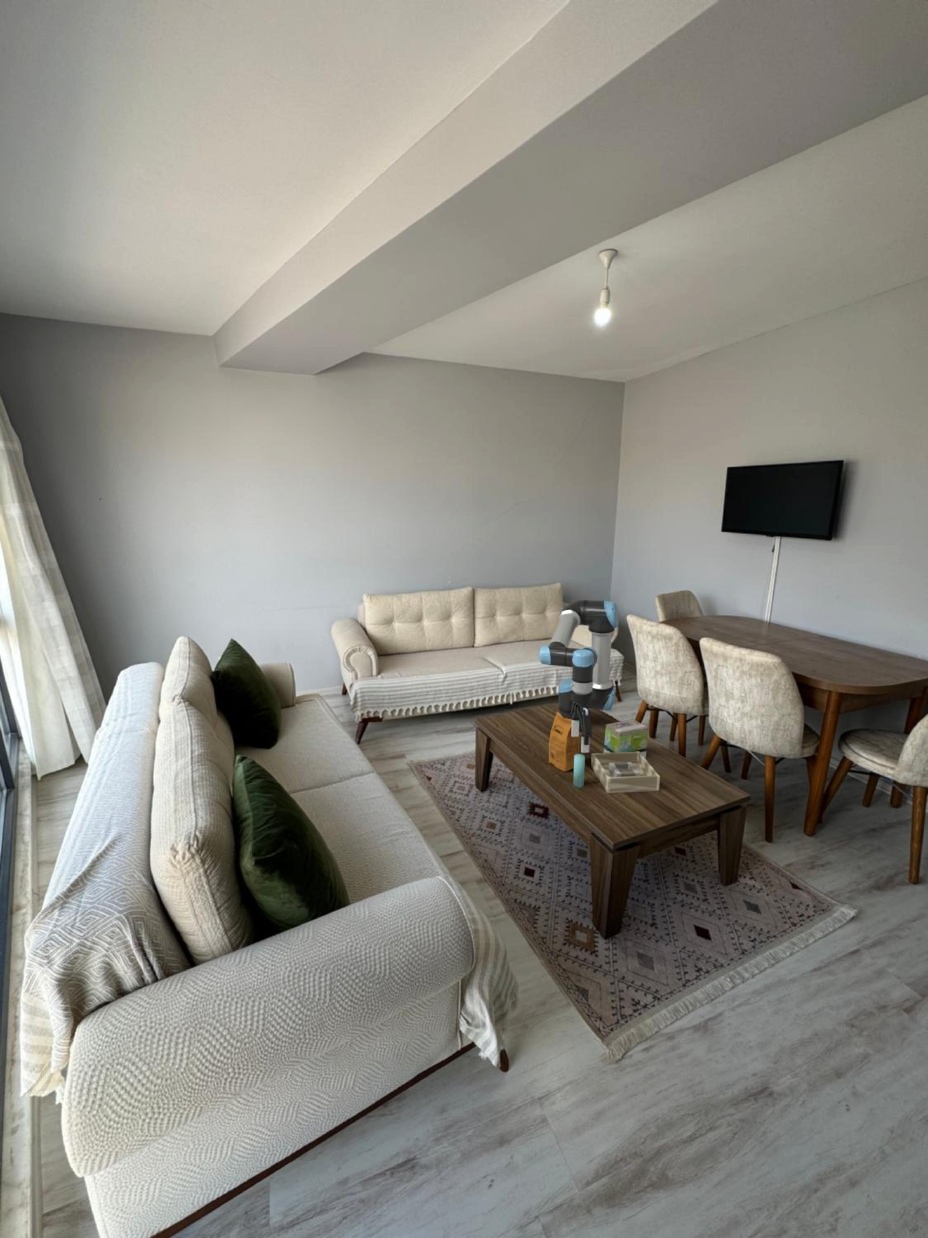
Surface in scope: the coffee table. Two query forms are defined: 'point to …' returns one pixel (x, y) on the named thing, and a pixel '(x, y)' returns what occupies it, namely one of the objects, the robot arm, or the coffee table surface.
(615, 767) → the open box
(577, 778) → the peg
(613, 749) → the tea box
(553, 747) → the coffee package
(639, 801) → the coffee table surface
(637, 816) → the coffee table surface
